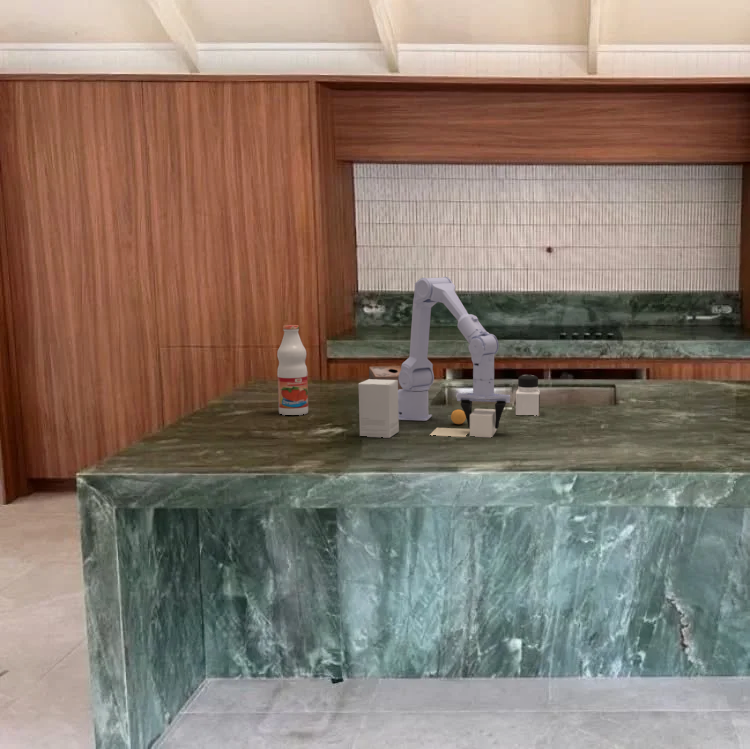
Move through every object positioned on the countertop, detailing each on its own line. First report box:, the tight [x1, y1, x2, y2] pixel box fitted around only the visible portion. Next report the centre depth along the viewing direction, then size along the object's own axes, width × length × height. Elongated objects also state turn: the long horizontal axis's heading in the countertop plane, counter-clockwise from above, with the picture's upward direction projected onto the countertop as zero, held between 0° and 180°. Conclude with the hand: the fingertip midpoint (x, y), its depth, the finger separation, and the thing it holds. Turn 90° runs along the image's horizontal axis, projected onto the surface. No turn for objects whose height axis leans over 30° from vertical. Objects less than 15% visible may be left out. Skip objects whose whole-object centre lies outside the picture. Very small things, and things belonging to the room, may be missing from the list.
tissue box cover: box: [368, 365, 403, 390], centre depth 294 cm, size 26×14×10 cm, turn 5°
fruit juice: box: [276, 324, 309, 416], centre depth 268 cm, size 9×9×28 cm
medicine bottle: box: [515, 374, 541, 417], centre depth 262 cm, size 7×7×12 cm
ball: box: [450, 408, 467, 425], centre depth 249 cm, size 4×4×4 cm
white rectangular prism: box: [469, 408, 497, 438], centre depth 236 cm, size 10×6×6 cm, turn 164°
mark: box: [429, 427, 470, 438], centre depth 238 cm, size 10×10×1 cm
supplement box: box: [357, 378, 400, 439], centre depth 236 cm, size 9×9×15 cm
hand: (483, 427), depth 236 cm, fingers open, 7 cm apart
